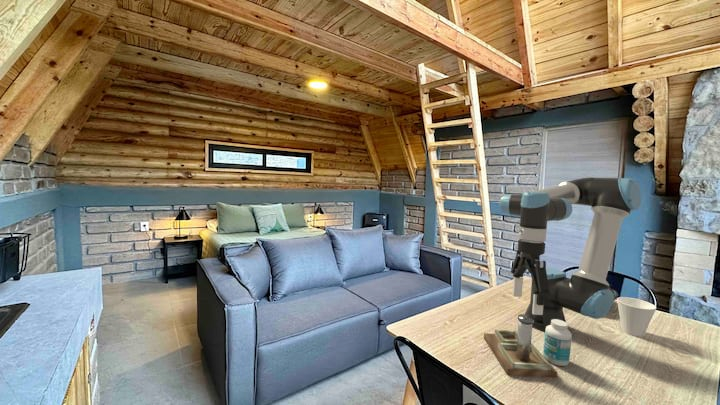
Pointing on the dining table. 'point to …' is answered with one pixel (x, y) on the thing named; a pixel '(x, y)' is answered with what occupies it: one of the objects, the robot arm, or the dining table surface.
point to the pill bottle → (557, 343)
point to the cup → (635, 315)
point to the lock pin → (524, 337)
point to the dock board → (505, 353)
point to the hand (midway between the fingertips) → (526, 304)
